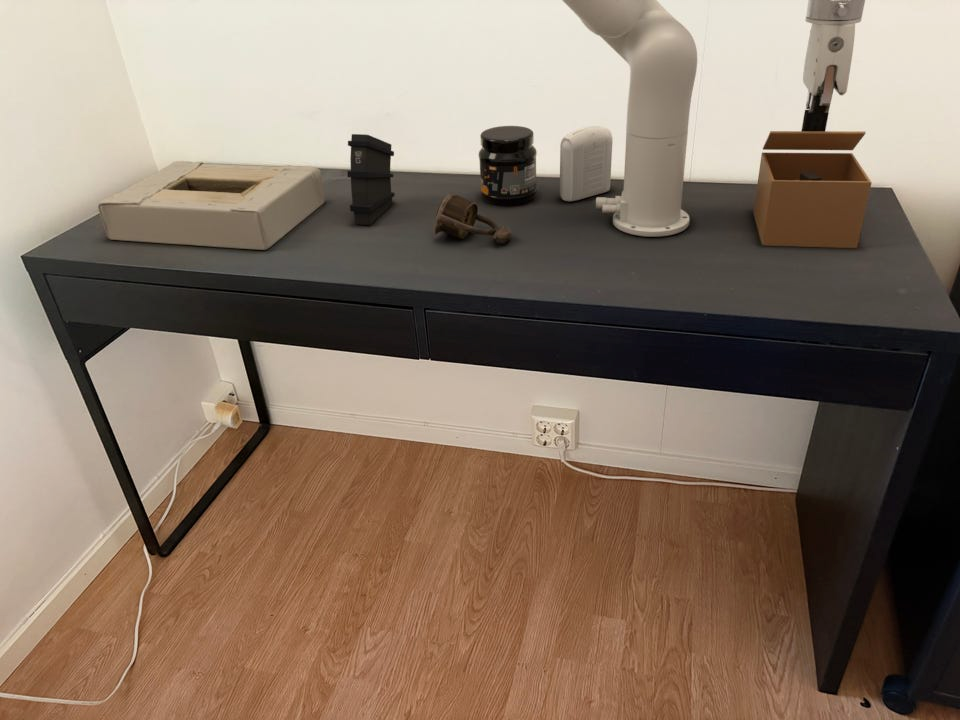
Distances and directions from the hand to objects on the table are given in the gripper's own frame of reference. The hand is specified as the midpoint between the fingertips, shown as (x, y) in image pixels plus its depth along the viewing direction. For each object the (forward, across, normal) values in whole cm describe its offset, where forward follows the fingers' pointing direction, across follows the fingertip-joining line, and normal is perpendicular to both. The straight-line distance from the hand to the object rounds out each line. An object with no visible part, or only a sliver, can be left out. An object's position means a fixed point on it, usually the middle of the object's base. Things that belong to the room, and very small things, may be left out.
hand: (812, 136), depth 121 cm
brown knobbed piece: (+14, -12, +53) cm, 56 cm away
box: (+14, -7, +101) cm, 102 cm away
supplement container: (+14, +8, +50) cm, 52 cm away
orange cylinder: (+13, -5, 0) cm, 14 cm away
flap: (+1, 0, 0) cm, 1 cm away
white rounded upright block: (+14, +10, +36) cm, 40 cm away
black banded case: (+14, -1, +73) cm, 74 cm away
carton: (+14, -5, 0) cm, 14 cm away
